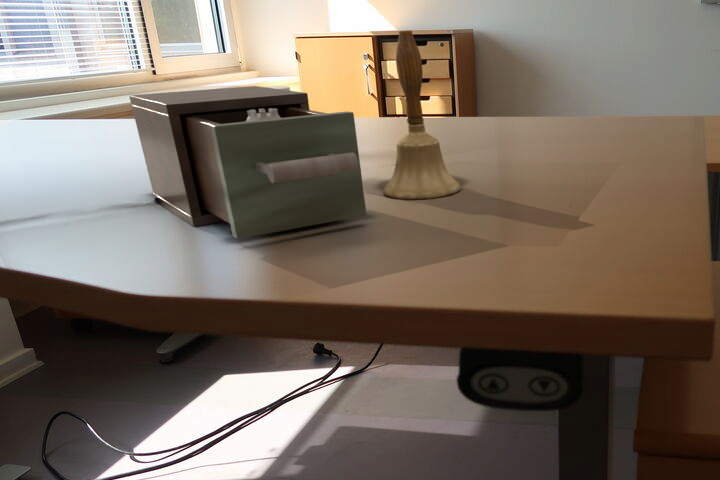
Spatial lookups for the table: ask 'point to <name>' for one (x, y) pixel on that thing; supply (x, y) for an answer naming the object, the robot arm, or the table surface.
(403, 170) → the hand bell
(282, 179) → the drawer
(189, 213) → the cabinet
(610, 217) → the table surface
